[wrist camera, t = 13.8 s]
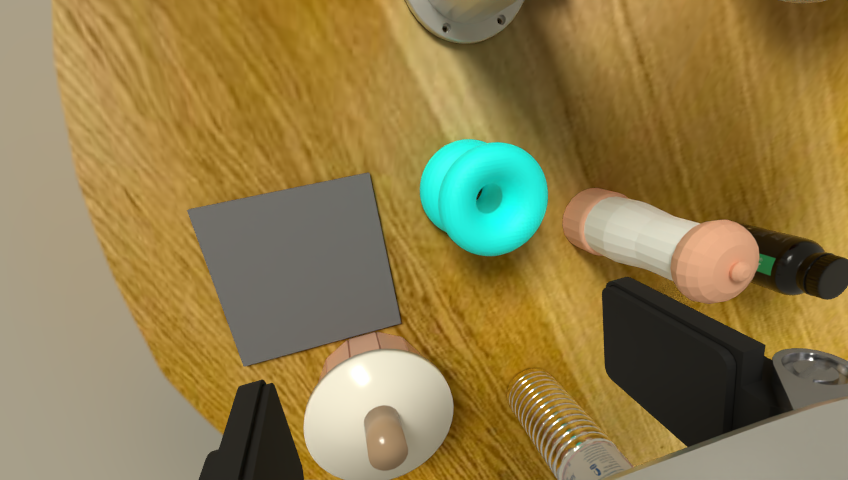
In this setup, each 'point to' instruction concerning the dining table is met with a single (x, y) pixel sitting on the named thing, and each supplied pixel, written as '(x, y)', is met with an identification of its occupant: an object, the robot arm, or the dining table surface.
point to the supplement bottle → (797, 265)
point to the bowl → (365, 348)
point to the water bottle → (562, 429)
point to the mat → (298, 266)
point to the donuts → (484, 195)
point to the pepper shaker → (664, 244)
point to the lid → (378, 415)
